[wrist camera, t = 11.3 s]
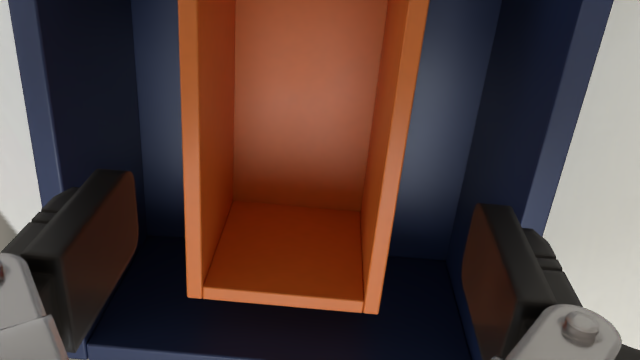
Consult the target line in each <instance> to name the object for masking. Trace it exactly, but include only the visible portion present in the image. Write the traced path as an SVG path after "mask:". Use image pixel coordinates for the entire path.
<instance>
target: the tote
mask: <svg viewBox="0 0 640 360" xmlns="http://www.w3.org/2000/svg"><path fill="white" fill-rule="evenodd" d="M613 1H614V0H430V2H429V8H428V14H427V20H426V26H425V32H424V38H423V44H422V51H421V57H420V63H419V69H418V75H417V81H416V87H415V93H414V100H413V106H412V112H411V118H410V124H409V130H408V136H407V143H406V149H405V155H404V161H403V167H402V173H401V179H400V185H399V192H398V198H397V204H396V210H395V216H394V222H393V228H392V235H391V241H390V247H389V253H388V259H387V265H386V271H385V277H384V284H383V290H382V296H381V302H380V308H379V313H378V314H366V313H363V312H362V313H355V312H344V311H333V310H322V309H310V308H299V307H288V306H277V305H266V304H254V303H243V302H232V301H221V300H210V299H203V298H201V299H198V298H188V297H187V283H186V251H185V219H184V187H183V155H182V123H181V91H180V60H179V28H178V0H8V3H9V9H10V15H11V21H12V27H13V33H14V39H15V45H16V52H17V58H18V64H19V70H20V76H21V82H22V88H23V94H24V100H25V106H26V112H27V118H28V124H29V130H30V136H31V143H32V149H33V155H34V161H35V167H36V173H37V179H38V185H39V191H40V197H41V203H42V208H43V207H44V206H45V205H46V204H47V203H48V202H49V201H50V200H51V199H52V198H53V197H54V196H56V195H58V194H60V193H62V192H64V191H66V190H67V189H69V188H71V187H81V186H82V184H83V183H84V182H85V181H86V180H87V179H88V178H89V177H90V175H91V174H92V173H93V172H94V171H95V170H96V169H98V168H101V169H112V170H123V171H130V172H132V174H133V176H134V181H135V192H136V203H137V215H138V226H139V235H138V243H137V247H136V250H135V253H134V255H133V257H132V258H131V260H130V262H129V263H128V265H127V267H126V268H125V270H124V272H123V273H122V275H121V277H120V279H119V280H118V282H117V284H116V285H115V287H114V289H113V290H112V292H111V294H110V295H109V297H108V299H107V301H106V302H105V304H104V306H103V307H102V309H101V311H100V312H99V314H98V316H97V317H96V319H95V321H94V323H93V324H92V326H91V328H90V329H89V331H88V333H87V334H86V336H85V338H84V339H83V341H82V343H81V345H80V346H79V348H78V350H77V351H76V353H70V352H66V353H67V355H68V358H72V359H84V360H86V359H89V360H482V358H481V354H480V350H479V346H478V343H477V339H476V335H475V331H474V327H473V324H472V320H471V316H470V312H469V309H468V305H467V301H466V297H465V293H464V290H463V286H462V278H461V269H462V260H463V255H464V250H465V246H466V242H467V237H468V233H469V228H470V224H471V220H472V215H473V211H474V208H475V206H476V204H477V203H486V204H497V205H508V206H511V207H512V208H513V210H514V213H515V215H516V217H517V219H518V221H519V223H520V225H521V227H522V228H530V229H533V230H535V231H536V232H537V233H538V234H539V235H540V236H543V233H544V229H545V226H546V223H547V219H548V216H549V213H550V209H551V206H552V203H553V199H554V196H555V193H556V189H557V186H558V183H559V180H560V176H561V173H562V170H563V166H564V163H565V160H566V156H567V153H568V150H569V146H570V143H571V140H572V137H573V133H574V130H575V127H576V123H577V120H578V117H579V113H580V110H581V107H582V103H583V100H584V97H585V94H586V90H587V87H588V84H589V80H590V77H591V74H592V70H593V67H594V64H595V60H596V57H597V54H598V51H599V47H600V44H601V41H602V37H603V34H604V31H605V27H606V24H607V21H608V17H609V14H610V11H611V8H612V4H613Z"/></svg>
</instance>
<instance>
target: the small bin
mask: <svg viewBox="0 0 640 360" xmlns="http://www.w3.org/2000/svg"><path fill="white" fill-rule="evenodd" d="M429 2H430V0H178V28H179V60H180V91H181V123H182V155H183V187H184V219H185V251H186V283H187V297H188V298H198V299H201V298H203V299H210V300H221V301H232V302H243V303H254V304H266V305H277V306H288V307H299V308H310V309H322V310H333V311H344V312H355V313H362V312H363V313H366V314H378V313H379V308H380V302H381V296H382V290H383V284H384V277H385V271H386V265H387V259H388V253H389V247H390V241H391V235H392V228H393V222H394V216H395V210H396V204H397V198H398V192H399V185H400V179H401V173H402V167H403V161H404V155H405V149H406V143H407V136H408V130H409V124H410V118H411V112H412V106H413V100H414V93H415V87H416V81H417V75H418V69H419V63H420V57H421V51H422V44H423V38H424V32H425V26H426V20H427V14H428V8H429Z"/></svg>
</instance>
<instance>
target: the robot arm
mask: <svg viewBox="0 0 640 360" xmlns="http://www.w3.org/2000/svg"><path fill="white" fill-rule="evenodd" d="M138 235H139V226H138V215H137V203H136V192H135V181H134V176H133V174H132V172H130V171H123V170H112V169H101V168H98V169H96V170H95V171H94V172H93V173H92V174H91V175H90V177H89V178H88V179H87V180H86V181H85V182H84V183H83V184H82V186H81V187H71V188H69V189H67V190H66V191H64V192H62V193H60V194H58V195H56V196H54V197H53V198H52V199H51V200H50V201H49V202H48V203H47V204H46V205H45V206H44V207H43V208H42V209H41V212H39V213H38V214H37V215H36V216H35V217H34V218H33V219H32V222H29V223H28V224H27V225H26V226H25V227H24V228H23V229H22V230H21V231H20V233H19V234H18V235H17V236H16V237H15V238H14V239H13V240H12V241H11V242H10V243H9V244H8V245H7V246H6V247H5V248H4V249H3V250H2V251H1V253H0V360H69V358H68V355H67V353H66V352H70V353H76V351H77V350H78V348H79V346H80V345H81V343H82V341H83V339H84V338H85V336H86V334H87V333H88V331H89V329H90V328H91V326H92V324H93V323H94V321H95V319H96V317H97V316H98V314H99V312H100V311H101V309H102V307H103V306H104V304H105V302H106V301H107V299H108V297H109V295H110V294H111V292H112V290H113V289H114V287H115V285H116V284H117V282H118V280H119V279H120V277H121V275H122V273H123V272H124V270H125V268H126V267H127V265H128V263H129V262H130V260H131V258H132V257H133V255H134V253H135V250H136V247H137V243H138ZM461 278H462V286H463V290H464V293H465V297H466V301H467V305H468V309H469V312H470V316H471V320H472V324H473V327H474V331H475V335H476V339H477V343H478V346H479V350H480V354H481V358H482V360H640V350H637V349H634V348H631V347H628V346H626V345H624V344H622V340H621V337H620V334H619V333H618V331H617V330H616V328H615V327H614V326H613V325H612V324H611V323H610V322H609V321H608V320H606V319H605V318H604V317H602V316H600V315H599V314H597V313H595V312H593V311H591V310H588V309H586V308H583V306H582V305H581V303H580V301H579V299H578V297H577V295H576V293H575V291H574V290H573V288H572V286H571V284H570V282H569V280H568V278H567V276H566V274H565V273H564V272H562V267H561V265H560V263H559V261H558V260H556V256H555V254H554V252H553V250H552V248H551V246H550V244H549V243H548V242H547V241H546V240H545V239H544V238H543V237H542V236H540V235H539V234H538V233H537V232H536V231H535V230H533V229H530V228H522V227H521V225H520V223H519V221H518V219H517V217H516V215H515V213H514V210H513V208H512V207H511V206H508V205H497V204H486V203H477V204H476V206H475V208H474V211H473V215H472V220H471V224H470V228H469V233H468V237H467V242H466V246H465V250H464V255H463V260H462V269H461Z"/></svg>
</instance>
